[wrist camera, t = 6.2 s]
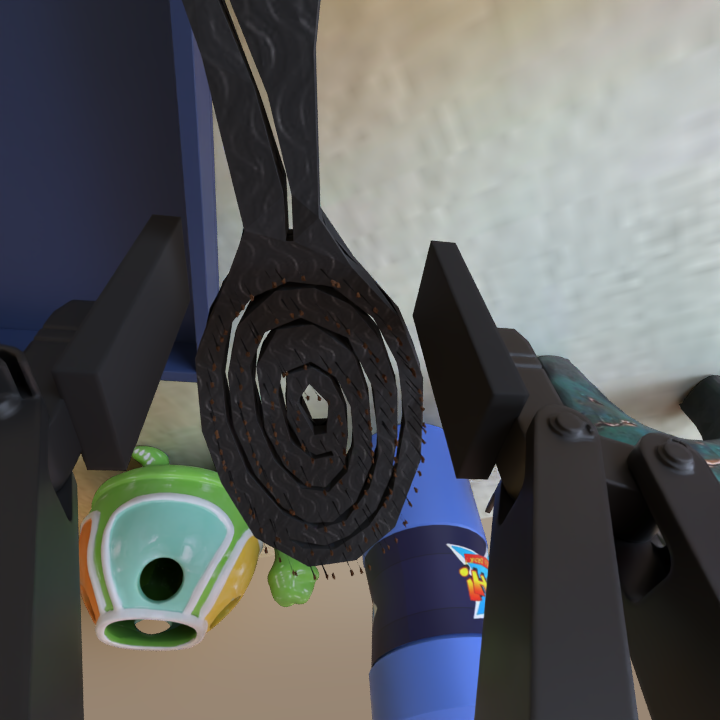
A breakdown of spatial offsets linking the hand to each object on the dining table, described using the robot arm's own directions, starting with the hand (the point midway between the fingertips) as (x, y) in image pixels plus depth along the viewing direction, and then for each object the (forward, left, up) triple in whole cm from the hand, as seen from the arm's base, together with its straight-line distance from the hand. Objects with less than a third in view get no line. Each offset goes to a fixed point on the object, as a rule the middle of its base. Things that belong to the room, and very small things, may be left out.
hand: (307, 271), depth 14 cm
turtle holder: (+29, -7, -13) cm, 33 cm away
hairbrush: (0, 0, 0) cm, 1 cm away
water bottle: (+24, +10, -13) cm, 29 cm away
